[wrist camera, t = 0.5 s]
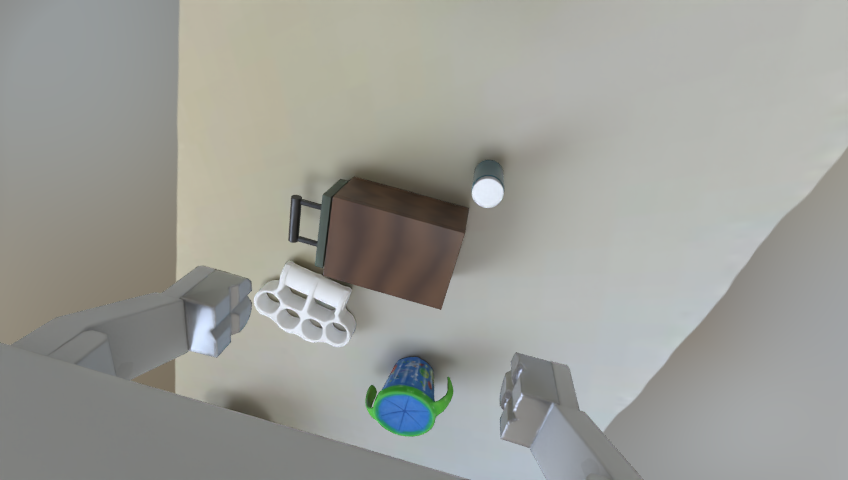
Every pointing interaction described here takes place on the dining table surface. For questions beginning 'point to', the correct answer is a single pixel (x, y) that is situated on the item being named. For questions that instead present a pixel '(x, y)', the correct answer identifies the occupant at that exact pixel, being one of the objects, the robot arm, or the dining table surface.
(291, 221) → the drawer
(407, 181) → the dining table surface
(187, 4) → the dining table surface
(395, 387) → the snack cup
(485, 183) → the salt shaker
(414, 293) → the cabinet
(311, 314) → the white brass knuckles
